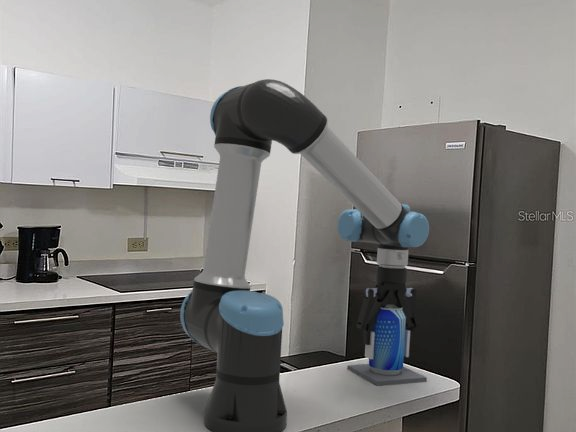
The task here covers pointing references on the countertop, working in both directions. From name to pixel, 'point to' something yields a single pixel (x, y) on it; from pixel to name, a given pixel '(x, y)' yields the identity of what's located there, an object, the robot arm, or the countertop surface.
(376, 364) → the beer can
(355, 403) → the countertop surface
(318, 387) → the countertop surface
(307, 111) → the robot arm
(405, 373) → the mat
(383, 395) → the countertop surface
